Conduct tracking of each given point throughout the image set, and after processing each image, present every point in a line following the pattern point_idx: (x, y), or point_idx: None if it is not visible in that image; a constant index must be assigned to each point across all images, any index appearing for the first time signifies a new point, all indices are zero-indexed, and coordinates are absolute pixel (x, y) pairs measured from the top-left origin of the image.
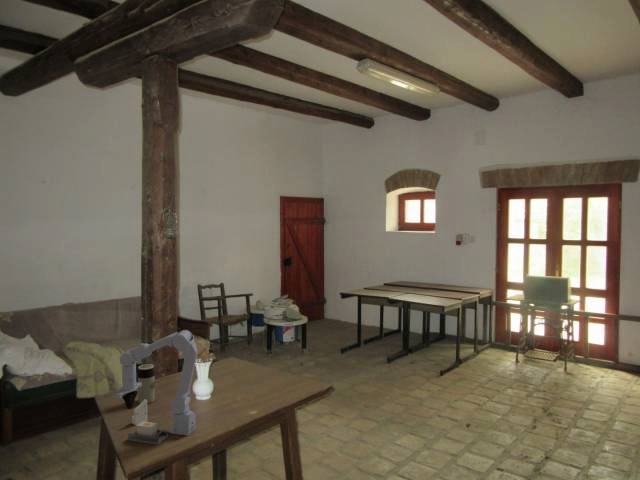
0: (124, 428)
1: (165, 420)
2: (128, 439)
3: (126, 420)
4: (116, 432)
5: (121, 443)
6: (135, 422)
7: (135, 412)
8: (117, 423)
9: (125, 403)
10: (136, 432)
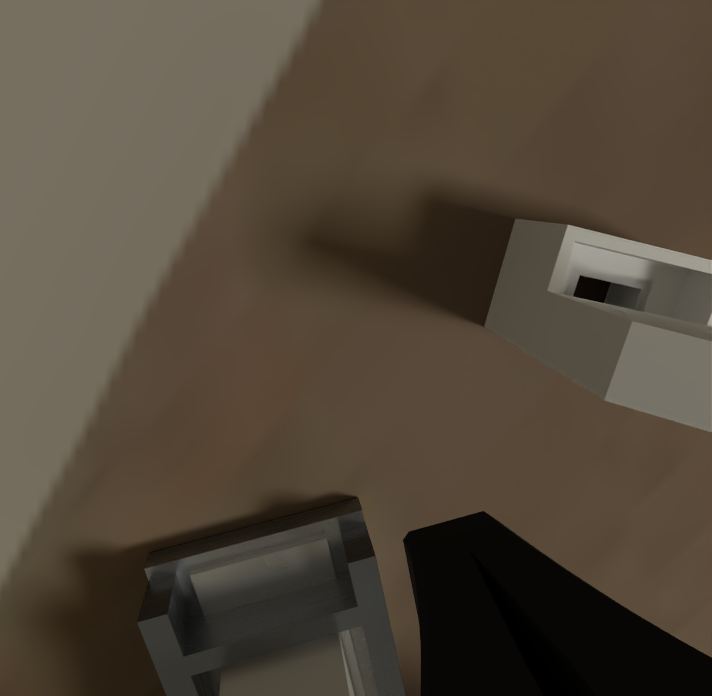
0: (354, 261)
1: (701, 505)
2: (153, 573)
3: (556, 64)
4: (211, 265)
5: (49, 570)
6: (505, 321)
7: (589, 375)
8: (427, 15)
9: (422, 657)
10: (233, 662)
